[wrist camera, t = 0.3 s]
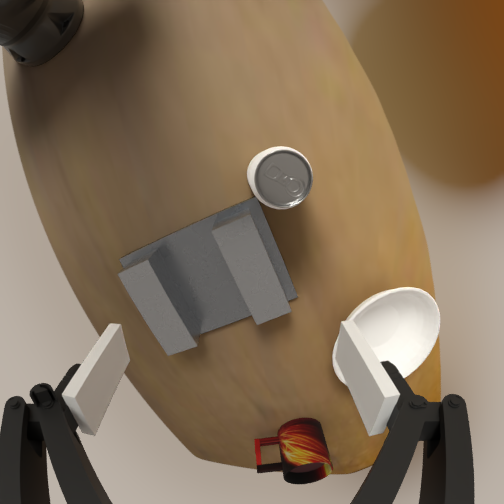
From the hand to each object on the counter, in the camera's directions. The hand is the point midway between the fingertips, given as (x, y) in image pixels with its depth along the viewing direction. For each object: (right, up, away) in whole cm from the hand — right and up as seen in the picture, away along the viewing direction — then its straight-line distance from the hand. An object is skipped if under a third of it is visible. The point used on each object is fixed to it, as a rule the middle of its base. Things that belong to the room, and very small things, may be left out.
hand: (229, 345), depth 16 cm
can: (+4, +16, +22) cm, 28 cm away
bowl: (+23, -7, +30) cm, 39 cm away
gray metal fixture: (-5, +2, +26) cm, 27 cm away
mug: (+10, -34, +38) cm, 52 cm away
